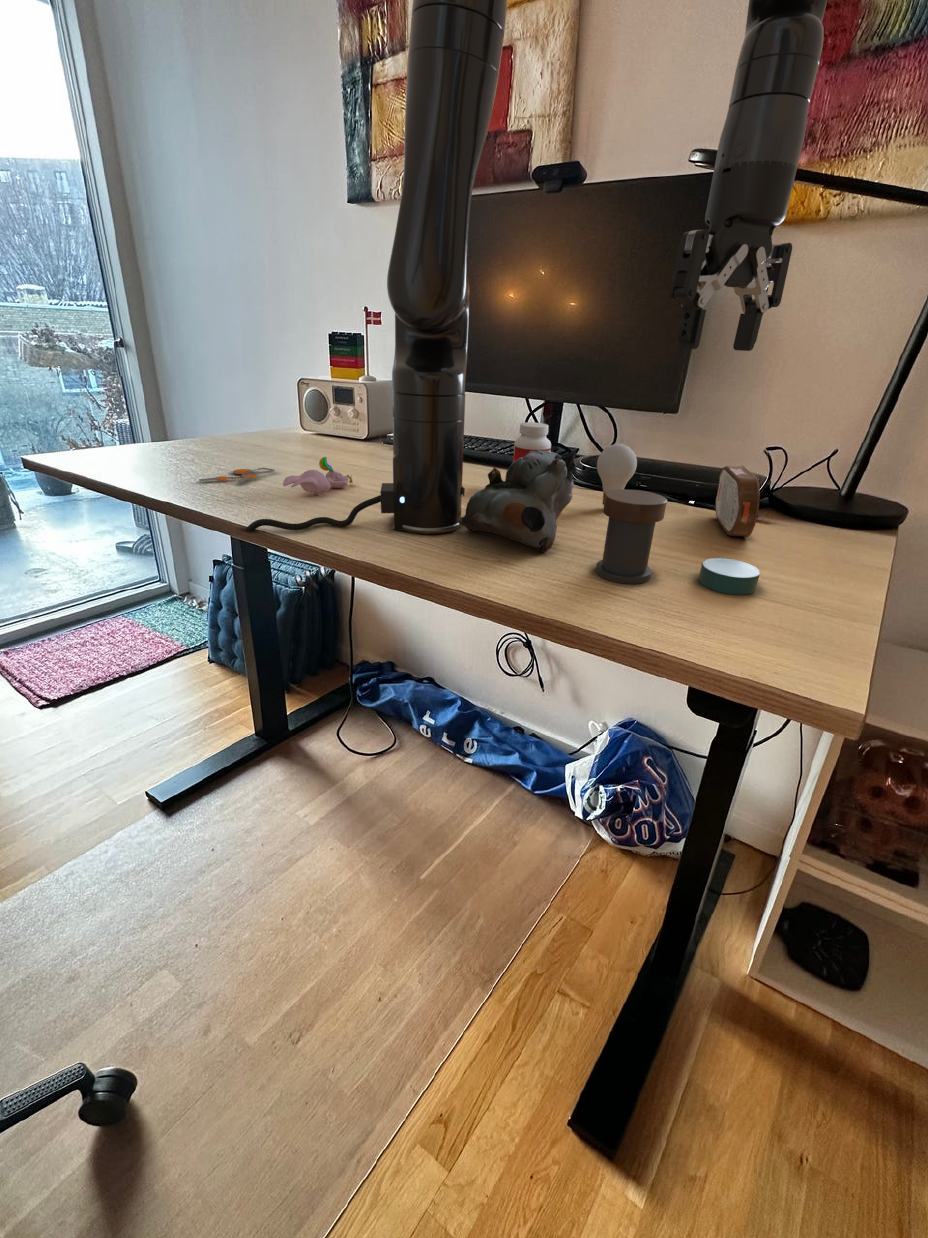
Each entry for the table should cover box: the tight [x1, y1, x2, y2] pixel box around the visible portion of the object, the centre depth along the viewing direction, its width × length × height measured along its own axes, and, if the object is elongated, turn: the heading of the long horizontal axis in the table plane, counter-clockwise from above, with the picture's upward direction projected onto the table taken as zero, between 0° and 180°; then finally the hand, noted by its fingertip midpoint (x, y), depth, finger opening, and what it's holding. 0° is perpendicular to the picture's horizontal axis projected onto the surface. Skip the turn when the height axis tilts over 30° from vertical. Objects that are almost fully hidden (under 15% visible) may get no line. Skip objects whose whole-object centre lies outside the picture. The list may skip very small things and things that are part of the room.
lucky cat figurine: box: [458, 450, 576, 553], centre depth 74 cm, size 15×12×14 cm
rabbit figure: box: [282, 456, 354, 496], centre depth 92 cm, size 6×6×15 cm
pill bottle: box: [512, 421, 552, 463], centre depth 98 cm, size 6×6×11 cm
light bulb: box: [596, 443, 638, 506], centre depth 89 cm, size 6×6×10 cm
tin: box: [714, 464, 761, 538], centre depth 83 cm, size 15×3×8 cm, turn 168°
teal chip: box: [698, 557, 761, 596], centre depth 65 cm, size 6×6×2 cm
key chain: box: [198, 467, 276, 484], centre depth 101 cm, size 13×7×1 cm, turn 156°
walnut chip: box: [602, 488, 668, 523], centre depth 63 cm, size 6×6×2 cm
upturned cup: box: [595, 517, 656, 585], centre depth 65 cm, size 6×6×7 cm
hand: (715, 349), depth 64 cm, fingers open, 8 cm apart
